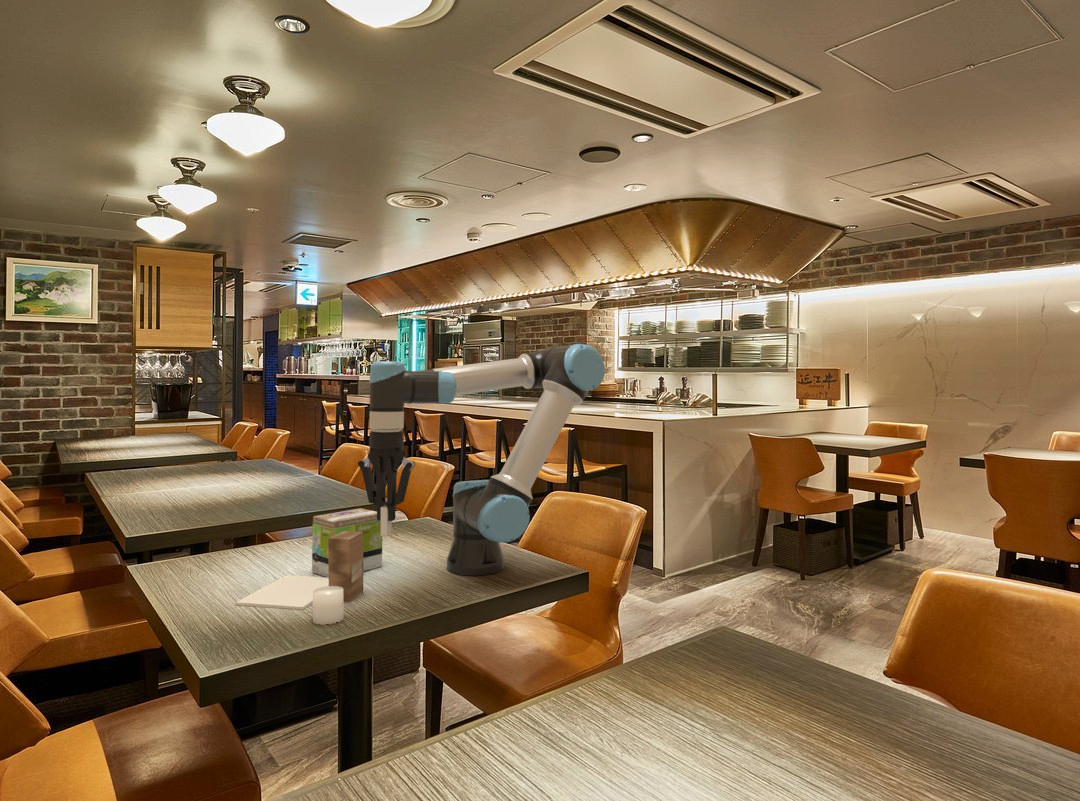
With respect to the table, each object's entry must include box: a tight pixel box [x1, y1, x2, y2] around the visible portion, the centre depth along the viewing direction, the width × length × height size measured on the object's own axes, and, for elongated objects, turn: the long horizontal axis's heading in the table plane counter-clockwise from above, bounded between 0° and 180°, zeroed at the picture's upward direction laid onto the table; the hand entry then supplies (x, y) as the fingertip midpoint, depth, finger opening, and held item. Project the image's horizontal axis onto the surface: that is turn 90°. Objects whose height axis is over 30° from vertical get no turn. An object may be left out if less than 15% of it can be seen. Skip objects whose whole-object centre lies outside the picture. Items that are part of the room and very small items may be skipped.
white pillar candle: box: [312, 586, 345, 626], centre depth 134 cm, size 6×6×6 cm
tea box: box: [311, 507, 383, 578], centre depth 168 cm, size 15×10×15 cm, turn 143°
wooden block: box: [328, 531, 364, 603], centre depth 148 cm, size 5×7×14 cm
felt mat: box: [235, 574, 329, 611], centre depth 150 cm, size 16×20×1 cm
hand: (386, 534), depth 146 cm, fingers closed
